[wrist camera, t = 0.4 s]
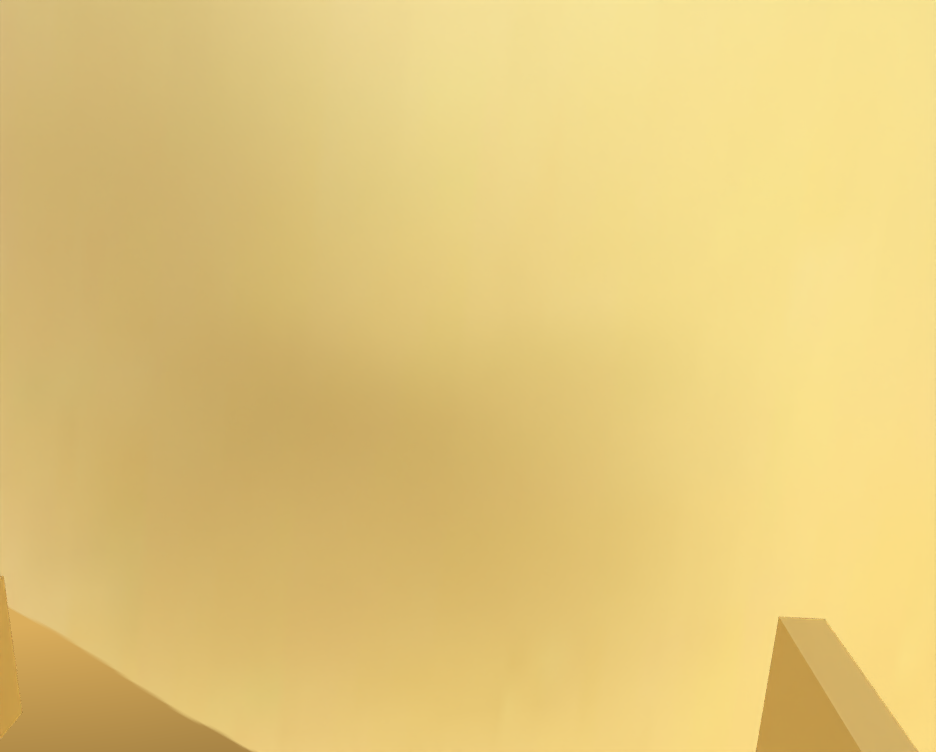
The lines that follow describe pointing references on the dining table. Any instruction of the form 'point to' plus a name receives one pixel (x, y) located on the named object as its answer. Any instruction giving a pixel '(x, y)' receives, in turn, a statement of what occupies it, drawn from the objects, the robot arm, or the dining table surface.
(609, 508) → the dining table surface
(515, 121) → the dining table surface
